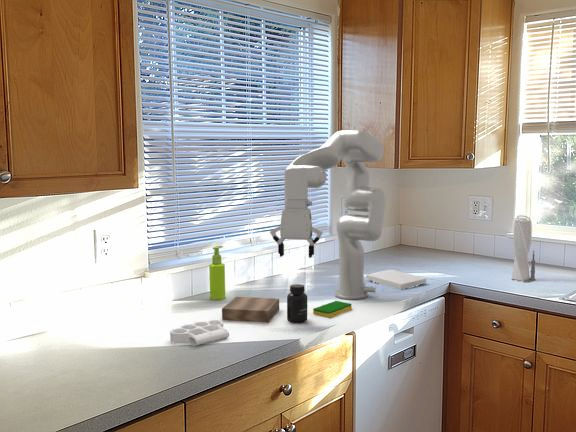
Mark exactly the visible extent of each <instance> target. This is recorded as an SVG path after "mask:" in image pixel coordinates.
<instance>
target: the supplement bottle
mask: <svg viewBox="0 0 576 432" xmlns="http://www.w3.org/2000/svg"><path fill="white" fill-rule="evenodd" d="M305 289H306V288H305V285H304V284H298V283H297V284H295V283H294V284H291V285H289V293H287V295H286V320H287V321H288V323H292V324H305V323H306V322H307V321H308V295H307V293H305Z"/></svg>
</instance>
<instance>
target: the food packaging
mask: <svg viewBox="0 0 576 432" xmlns="http://www.w3.org/2000/svg"><path fill="white" fill-rule="evenodd" d="M365 278H366V279H367V280H370V281H372V283H373V282H376V283H375V284H378V283H380V284H383V285H382V286H384V285H387V286H390V287H389V288H391V287H394V288H393V289H395V288H398V289H397V290H399V289H404V290H406V289H405V288H408V289H410V288H409V287H412V286H416V285H420V284H421V285H424V284H427V278H426V277H422V276H419V275H415V274H411V273H408V272H407V273H406V272H404V271H403V272H402V271H399V270H395V269H393V268H392V269H386V270H381V271H377V272H373V273H372V272H371V273H368V274H366V275H365ZM421 285H420V286H421ZM387 286H386V287H387Z"/></svg>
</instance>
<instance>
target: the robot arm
mask: <svg viewBox="0 0 576 432" xmlns="http://www.w3.org/2000/svg"><path fill="white" fill-rule="evenodd" d="M384 151H385V150H384V146H383V142H382V141H381V140H380V139H379V138H377V137H376V136H374V135H372V134H371V133H369V132H367V131H365V130H362V129H349V130H348V129H346V130H344V129H343V130H338V131H336V132H334V133H333V134H332V135H331V136H330V137H329V138H328V140H326V141H325V142H324V143H323V144H322V145H321V146H320V147H317V148H315V149H313V150H311V151H309V152H306V153H304V154H301V155H299V156H298V157H297V158H295V159H294V160H293V161H291V163H289V165H288V166H287V167H286V168H285V169H284V175H283V176H284V177H283V178H284V208H282V212H281V217H280V225H279V226H276V227H275V228H273V229H271V230H269V233H270V235H271V236H272V239H273V241H275V242H276V244H277V248H278V249H277V251H278V254H279V258H280V257H283V256H284V255H285V243H284V241H285V240H297V241H298V240H300V241H301V240H306V241H307V243H308V244H309V245H308V258H309V259H310V258H312V257H313V256H314V254H315V244H317V242H319V241H320V239H321V237H322V235H323V231H322V230H320V229H317V228H316V227H314V226H313V219H312V217H313V216H312V212H311V209H310V208H309V207H310V206H313V201H310V200H309V195H308V189H318V188H319V189H320V188H321V187H323V186H324V185H325V183H326V181H327V173H326V172H327V171H326V170H329V169H332V168H335V167H336V166H337V165H338V164H339V163H340V162H341V161H343V163H344V166H345V168H346V171H347V172H346V173H347V179H346V187H345V193H344V199H343V200H344V207H345V208H346V209H347V210H348V211H351V212H361V213H368V215H365V214H353V213H352V214H351V213H350V214H346V213H345V214H343V215H340V217H338V219H337V221H336V234H337V237H338V238H337V239H338V252H339V253H338V257H339V258H338V260H339V261H338V267H339V269H338V276H339V277H338V279H339V281H338V282H339V283H338V290H336V291H334V295H335V297H337V298H339V299H343V300H344V299H345V300H361V299H366V298H367V297H368V296H369V293H373V294H375V293H376V287H374V286H367V285H366V282H365V249H364V247H363V244H362V242H361V241H366V242H376V241H377V240H379V239H380V238H381V236H382V232H383V227H384V220H385V214H386V208H387V207H386V205H387V198H386V197H387V196H386V194H385V191H384V190H383V188H380V187H377V186H375V187H374V186H370V177H371V175H370V171H369V169H368V167H366V165H365V164H364V163H376V162H379V161H381V159H382V158H383V156H384ZM279 231H280V233H279V234H280V237H279V236H277V232H279ZM313 233H315V234H316V237H315V238H314V239H313Z"/></svg>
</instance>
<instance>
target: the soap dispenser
mask: <svg viewBox="0 0 576 432" xmlns="http://www.w3.org/2000/svg"><path fill="white" fill-rule="evenodd" d="M223 247H224V246H223V245H215V246H213V247H212V250H214V251H213V252H214V254H213V255H212V256H211V258H212V259H211V260H212V261H211V262H212V263H210V264H208V271H209V272H208V273H209V299H210V300H213V301H220V300H225V299H226V265H225V263H223V262H222V255H221V254H220V249H221V248H223Z"/></svg>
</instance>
